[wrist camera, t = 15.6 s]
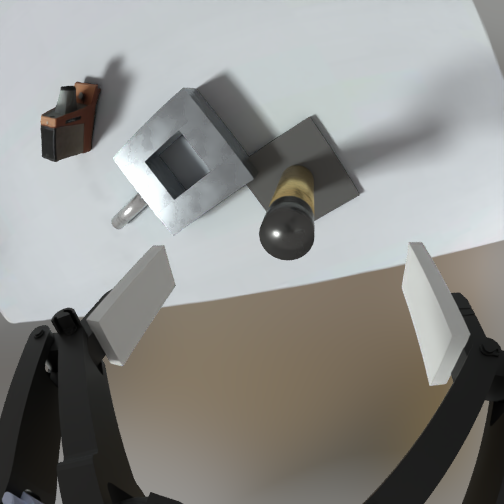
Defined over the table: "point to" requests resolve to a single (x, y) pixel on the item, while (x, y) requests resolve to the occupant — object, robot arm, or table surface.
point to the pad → (310, 156)
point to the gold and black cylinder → (290, 216)
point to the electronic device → (70, 122)
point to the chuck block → (162, 179)
